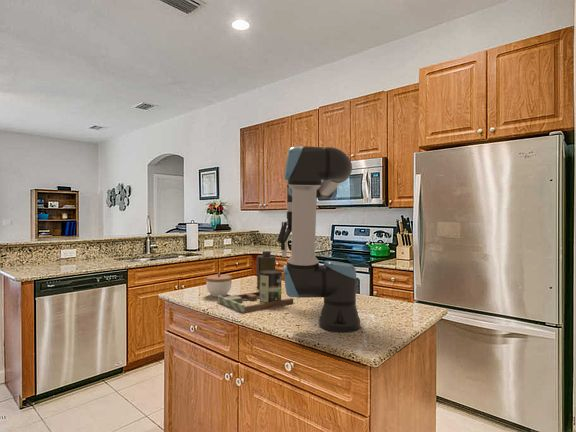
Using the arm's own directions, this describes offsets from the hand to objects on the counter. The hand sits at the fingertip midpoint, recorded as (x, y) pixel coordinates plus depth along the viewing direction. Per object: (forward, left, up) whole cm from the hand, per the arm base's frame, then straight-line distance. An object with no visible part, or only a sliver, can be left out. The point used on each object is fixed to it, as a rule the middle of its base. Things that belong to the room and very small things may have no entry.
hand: (294, 255), depth 176 cm
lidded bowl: (+26, +27, -21) cm, 43 cm away
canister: (+27, -2, -21) cm, 34 cm away
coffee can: (0, +14, -21) cm, 25 cm away
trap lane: (+2, +20, -20) cm, 29 cm away
